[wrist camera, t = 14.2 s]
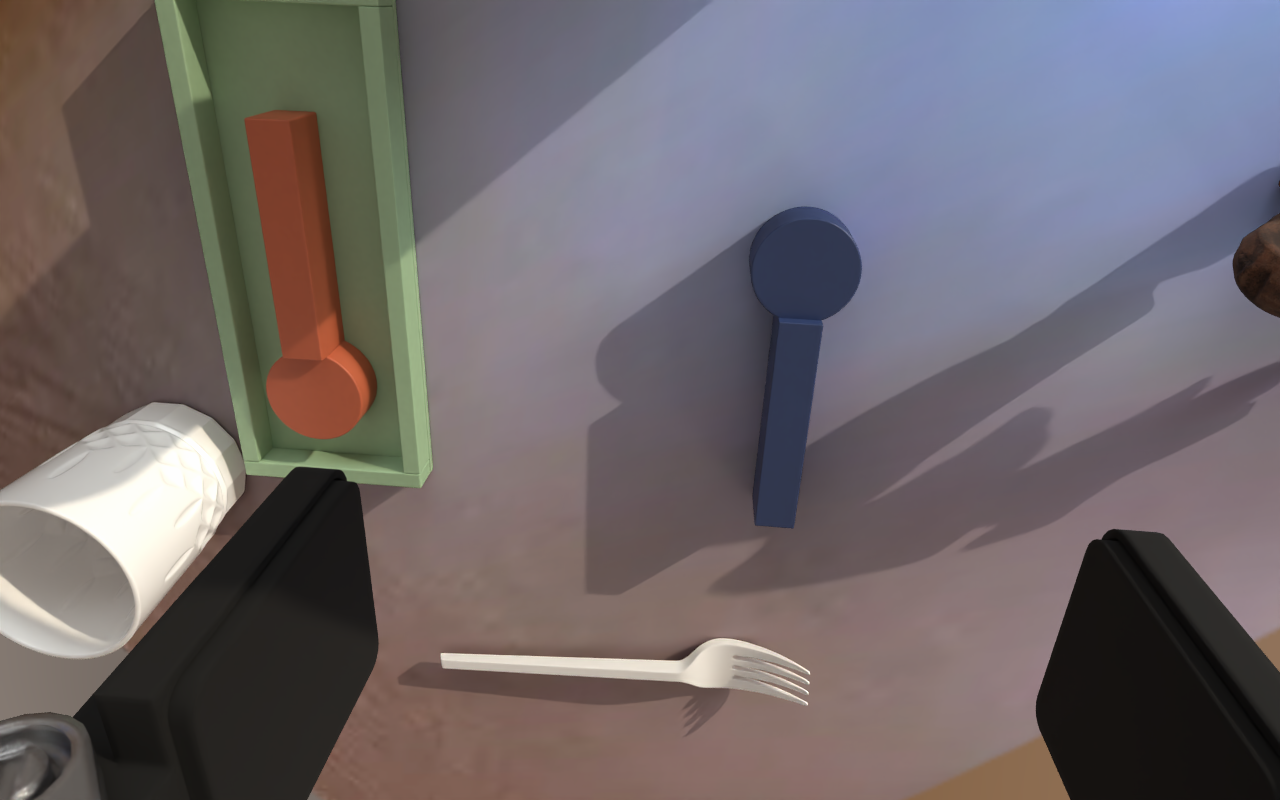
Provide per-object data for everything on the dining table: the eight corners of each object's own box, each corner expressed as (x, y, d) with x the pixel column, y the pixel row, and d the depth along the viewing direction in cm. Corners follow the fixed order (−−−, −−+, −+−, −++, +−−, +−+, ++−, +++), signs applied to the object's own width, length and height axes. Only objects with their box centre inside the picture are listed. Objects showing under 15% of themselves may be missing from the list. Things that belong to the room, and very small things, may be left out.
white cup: (245, 395, 41) (113, 510, 32) (270, 530, 44) (158, 667, 35) (89, 384, 41) (-85, 494, 32) (126, 518, 45) (-22, 651, 36)
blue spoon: (816, 501, 41) (822, 531, 39) (725, 494, 41) (726, 523, 39) (862, 209, 35) (872, 224, 32) (754, 203, 35) (757, 218, 32)
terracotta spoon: (243, 107, 34) (209, 115, 32) (348, 113, 34) (322, 121, 32) (292, 416, 41) (268, 441, 38) (382, 423, 40) (362, 448, 38)
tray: (177, -27, 33) (147, -28, 31) (394, -17, 32) (376, -18, 30) (264, 455, 42) (246, 475, 40) (433, 468, 42) (421, 489, 40)
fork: (439, 630, 46) (428, 654, 45) (807, 640, 45) (811, 666, 43) (446, 674, 48) (437, 700, 46) (804, 686, 46) (807, 713, 44)
